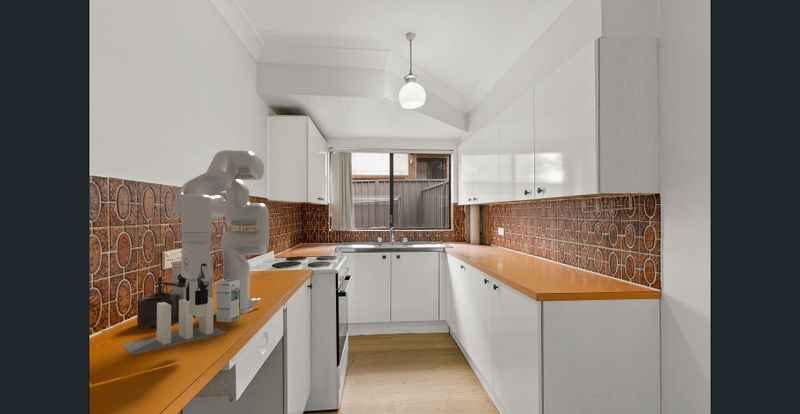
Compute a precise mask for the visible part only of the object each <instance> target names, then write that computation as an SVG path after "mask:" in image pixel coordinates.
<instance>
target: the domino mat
mask: <svg viewBox="0 0 800 414" xmlns="http://www.w3.org/2000/svg"><path fill="white" fill-rule="evenodd" d="M225 334H227V332H226V331H223V330H221V329H219V328H217V327H215V326H213V333H212V334H208V335H206V334H204V333H202V332H200V331H199V327H196V328H193V338H190V339H184V338H183V337H181V336H179V331H178V332H175V333H171V343H168V344H162V343H160V342H159V341H158V340H157V336H155V337H154V336H153V337H151V338H150V337H149V338H146V339H141V340H136V341H131V342H126V343H122V346H123V347H124V348H126V350H127V351H129V353H131V355H139V354H143V353H146V352H151V351H156V350H160V349H165V348H169V347H173V346H178V345H181V344H182V345H183V344H186V343H190V342H191V343H192V342H195V341H198V340H199V341H200V340H203V339H208V338H212V337H216V336H217V337H218V336H221V335H225Z"/></svg>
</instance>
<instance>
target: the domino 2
mask: <svg viewBox="0 0 800 414" xmlns="http://www.w3.org/2000/svg"><path fill="white" fill-rule="evenodd" d="M193 329H194V316H193V315H192V314H190V313H189V301H186V299H181V300H179V320H178V332H179V336H181V337H183V338H184V339H190V338H193Z"/></svg>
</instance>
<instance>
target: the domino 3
mask: <svg viewBox="0 0 800 414" xmlns="http://www.w3.org/2000/svg"><path fill="white" fill-rule="evenodd" d="M201 278H203V277H198V279H201ZM201 282H202V281H199V285H200V283H201ZM196 290H197V289H196V282H195V280H194V281H191V280H189V313H190V314H192V315H193V317H195V318H199V317H202V316H205V304H202V305H195V291H196Z"/></svg>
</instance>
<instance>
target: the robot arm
mask: <svg viewBox="0 0 800 414" xmlns="http://www.w3.org/2000/svg"><path fill="white" fill-rule="evenodd" d="M264 174H265V166H264V162H263V160H262V159H261V158H260V157H259V156H258V155H257V154H256V153H254V152H253V151H249V150H229V149H228V150H220V151H218V152H216V153H215V155H214V156H213V158H212V160H211V162H210V164H209V166H208V168H207V170H206V172H203V173H201V174H199V175H198V176H196V177H194V178H192V179H190V180H188V181H187V182H185V183H184V184H183V185H182V187H180V189H179V191H178V192H177V194H176V197H175V199H174V202H173V212H174V214H175V215H176V217H178V218H179V219H181V245H182V249H181V260H180V261H181V276H182V277H183V278H186V301H189V280H191V281H194V280H195V282H196V289H197V290H196V291H195V305H202V304H207V303H208V284H209V281H210V276H211V258H212V255H211V254H212V253H211V246H210V245H211V244H213V243H212V241H213V239H212V237H213V236H212V235H213V234H212V233H213V231H212V230H213V225H212V224H213V221H212V220H219V219H222V218H224V217H225V222H226V224H227V225H228V226H230V227H233V228H234V227H235V228H255V229H256V230H253V229H252V230H247V229H246V230H244V229H242V230H241V229H240V230H238V229H237V230H236V229H235V230H228V231H226V232H224V233H223V234H222V236H221V239H220V245H221V247H220V248H221V253H222V263H223V265H222V266H223V267H222V268H223V269H222V270H223V276H222V277H223V279H222V281H224V280H226V279H237V280H240V315H241V314H245V313H247V314H248V313H251V312H253V311H254V310H255V307H254V305H255V304H261V303H262V298H260V297H258V298H252V297H250V294H251V293H250V284H251V283H250V282H251V281H250V279H251V278H250V277H251V276H250V275H251V272H250V271H251V270H250V269H251V268H250V267H251V266H250V263H249V261H248V259H246V258H245V256H246V255H247V256H248V255H249V256H252V255H264V254H266V253H267V252H268V250H269V244H270V243H269V242H270V212H269V208H268V207H267V205H266V204H264V203H261V202H250V190H249V189H250V188H248V186H247V185H246V184H245V182H244V180H245V181H258V180H261V179H262V178H263V177H264ZM222 192H225V197H224V196H223V195H219V194H220V193H222ZM218 193H219V194H218ZM198 277H203V278H201V279H198ZM199 281H202V282H201V283H200V285H199Z"/></svg>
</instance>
